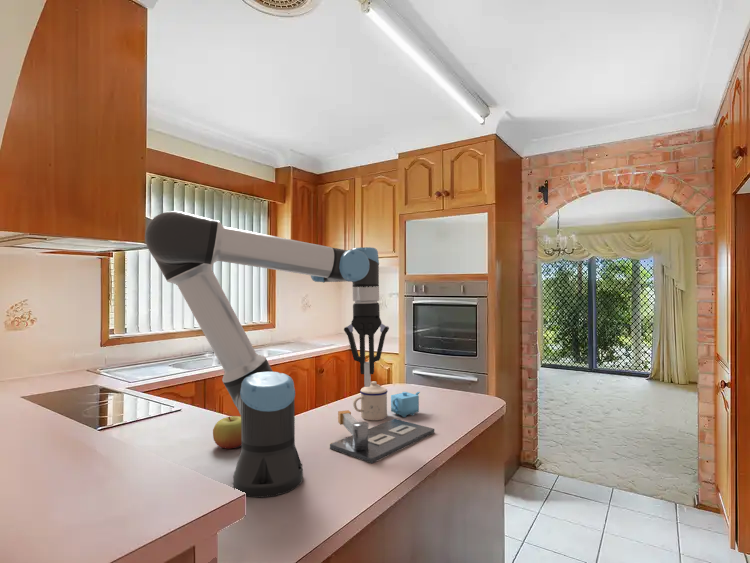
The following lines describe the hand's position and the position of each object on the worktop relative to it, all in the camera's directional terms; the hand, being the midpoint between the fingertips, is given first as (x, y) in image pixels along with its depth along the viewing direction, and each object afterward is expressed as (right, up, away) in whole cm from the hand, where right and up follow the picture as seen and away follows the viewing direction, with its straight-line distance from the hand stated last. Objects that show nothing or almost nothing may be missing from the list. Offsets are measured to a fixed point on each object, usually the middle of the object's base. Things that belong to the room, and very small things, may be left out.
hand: (367, 385), depth 121 cm
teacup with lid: (0, -16, +21) cm, 26 cm away
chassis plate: (+5, -15, 0) cm, 16 cm away
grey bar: (-4, -14, -3) cm, 15 cm away
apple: (-37, -16, -3) cm, 41 cm away
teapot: (+13, -16, +24) cm, 32 cm away
